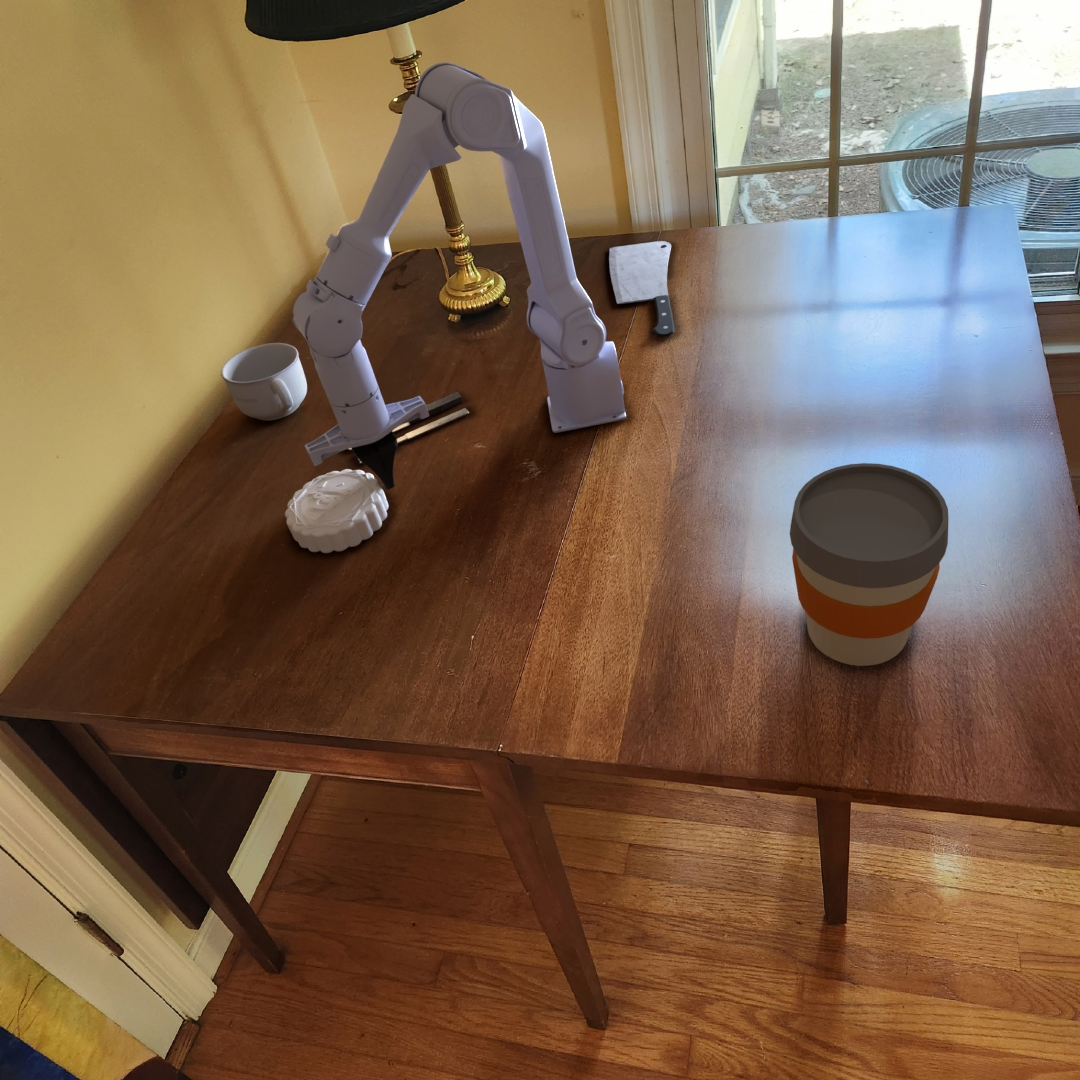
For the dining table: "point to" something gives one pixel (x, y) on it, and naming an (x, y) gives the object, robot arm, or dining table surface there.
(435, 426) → the fork
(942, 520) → the reusable coffee cup
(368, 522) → the mooncake
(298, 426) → the dining table surface
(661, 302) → the cleaver
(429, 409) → the knife
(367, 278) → the robot arm
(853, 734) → the dining table surface
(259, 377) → the teacup
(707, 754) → the dining table surface
